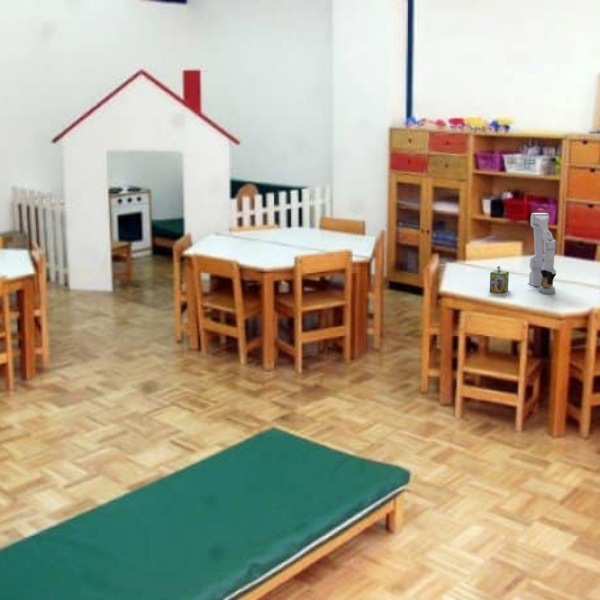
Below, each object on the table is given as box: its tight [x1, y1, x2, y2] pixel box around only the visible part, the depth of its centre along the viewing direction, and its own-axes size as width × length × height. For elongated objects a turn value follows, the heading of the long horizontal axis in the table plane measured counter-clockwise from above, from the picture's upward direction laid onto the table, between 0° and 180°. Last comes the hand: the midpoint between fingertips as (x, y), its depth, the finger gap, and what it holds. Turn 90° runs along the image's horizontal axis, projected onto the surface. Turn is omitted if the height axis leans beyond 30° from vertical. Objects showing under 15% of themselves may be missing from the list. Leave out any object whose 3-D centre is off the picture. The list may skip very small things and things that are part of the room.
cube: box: [541, 277, 554, 288], centre depth 518 cm, size 5×5×5 cm
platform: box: [538, 286, 556, 295], centre depth 519 cm, size 9×9×3 cm
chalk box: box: [489, 265, 510, 294], centre depth 522 cm, size 9×9×15 cm
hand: (547, 283), depth 518 cm, fingers closed on cube, 5 cm apart
